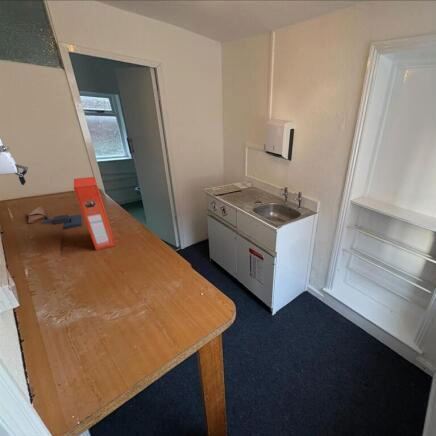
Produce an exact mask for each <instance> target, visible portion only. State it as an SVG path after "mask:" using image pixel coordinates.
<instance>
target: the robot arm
mask: <svg viewBox="0 0 436 436" xmlns="http://www.w3.org/2000/svg"><path fill="white" fill-rule="evenodd" d="M10 150H11V149H10V147H9V146H5V145H4V143H3V142H2V139H1V138H0V176H2V175H13V174H14V175H16V176H18V180H19V182H20V184H21V186H24V185H25V183H26V179H25V177H24V176H25V175H26V174H27V173H28V169H29V167H28V166H25V165H23V164H17V162H16V161H15V159H14V157H13V156H12V154H11V153H10ZM19 169H21V170H22V172H21V171H20V170H19Z"/></svg>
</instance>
